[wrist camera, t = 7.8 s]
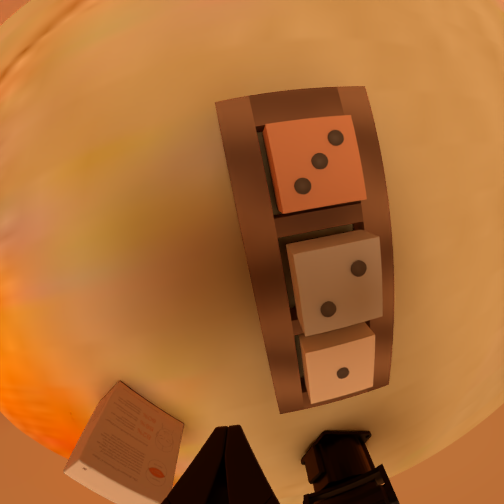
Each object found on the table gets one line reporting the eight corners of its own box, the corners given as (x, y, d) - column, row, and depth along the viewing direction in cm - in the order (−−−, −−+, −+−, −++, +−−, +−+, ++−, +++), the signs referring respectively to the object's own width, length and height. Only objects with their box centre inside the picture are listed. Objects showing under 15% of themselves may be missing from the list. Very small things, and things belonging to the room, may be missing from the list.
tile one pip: (361, 368, 20) (373, 388, 18) (304, 383, 21) (311, 405, 18) (361, 318, 19) (376, 336, 17) (298, 334, 19) (305, 355, 17)
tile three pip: (350, 197, 17) (368, 199, 14) (277, 210, 17) (283, 214, 15) (336, 123, 16) (352, 114, 13) (262, 133, 16) (265, 123, 13)
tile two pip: (366, 300, 18) (384, 317, 15) (297, 317, 18) (305, 338, 15) (361, 229, 17) (380, 237, 14) (285, 244, 17) (293, 255, 14)
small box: (98, 401, 23) (60, 471, 12) (119, 378, 22) (75, 459, 11) (158, 441, 24) (138, 515, 14) (186, 423, 23) (169, 509, 13)
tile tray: (380, 372, 22) (388, 384, 20) (277, 399, 22) (280, 414, 20) (354, 94, 17) (364, 86, 15) (217, 110, 17) (214, 102, 15)
